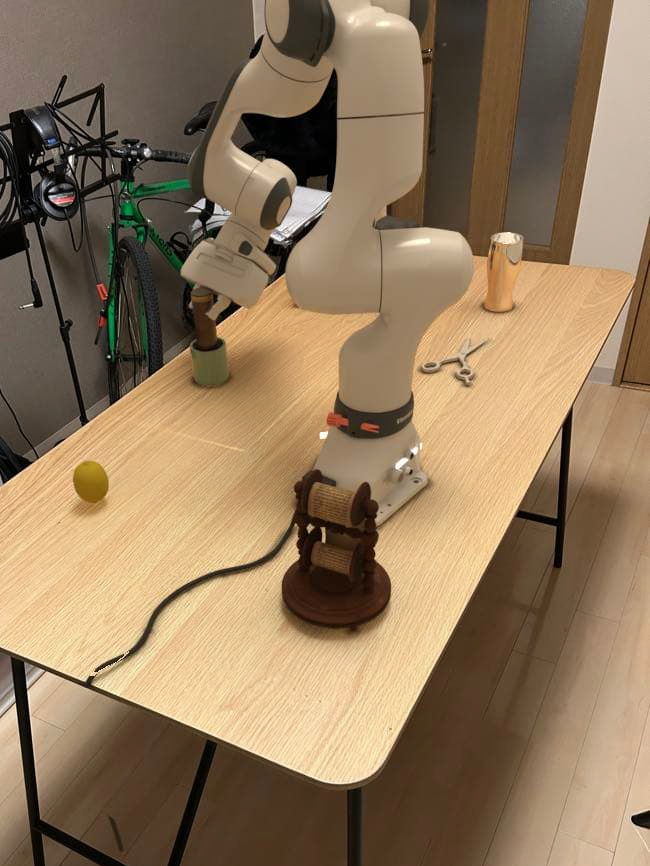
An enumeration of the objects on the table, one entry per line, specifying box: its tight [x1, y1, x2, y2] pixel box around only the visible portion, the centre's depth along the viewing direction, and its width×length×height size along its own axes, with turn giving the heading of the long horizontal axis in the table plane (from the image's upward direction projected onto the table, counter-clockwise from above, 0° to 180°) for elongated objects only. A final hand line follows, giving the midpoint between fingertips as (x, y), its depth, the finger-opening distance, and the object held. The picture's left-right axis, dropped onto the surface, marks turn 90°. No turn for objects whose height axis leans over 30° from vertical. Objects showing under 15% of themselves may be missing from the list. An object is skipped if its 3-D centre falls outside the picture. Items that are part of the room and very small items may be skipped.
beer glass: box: [483, 231, 524, 313], centre depth 175 cm, size 7×7×15 cm
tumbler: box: [189, 336, 230, 386], centre depth 161 cm, size 7×7×8 cm
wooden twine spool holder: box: [281, 469, 392, 633], centre depth 106 cm, size 15×15×20 cm
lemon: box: [72, 460, 110, 504], centre depth 132 cm, size 6×6×8 cm
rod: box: [190, 287, 218, 352], centre depth 156 cm, size 4×4×13 cm
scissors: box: [421, 333, 491, 386], centre depth 162 cm, size 11×1×20 cm
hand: (201, 314), depth 155 cm, fingers closed on rod, 4 cm apart
